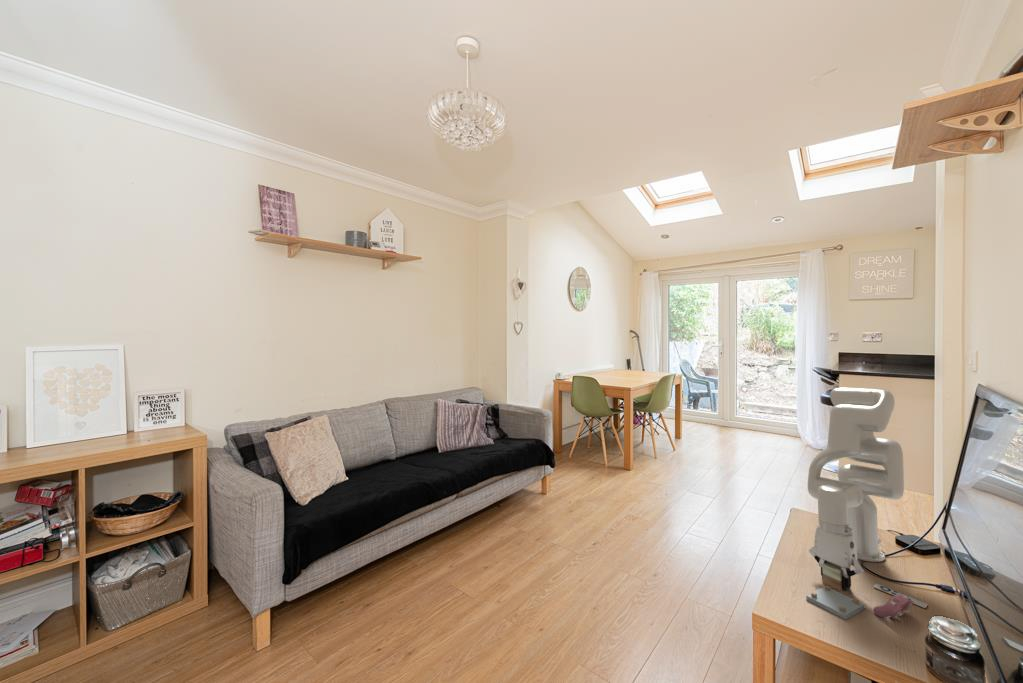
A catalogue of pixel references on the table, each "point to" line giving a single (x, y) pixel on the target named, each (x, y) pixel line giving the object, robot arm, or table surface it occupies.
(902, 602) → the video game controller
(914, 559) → the table surface
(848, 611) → the board
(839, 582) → the block stack
